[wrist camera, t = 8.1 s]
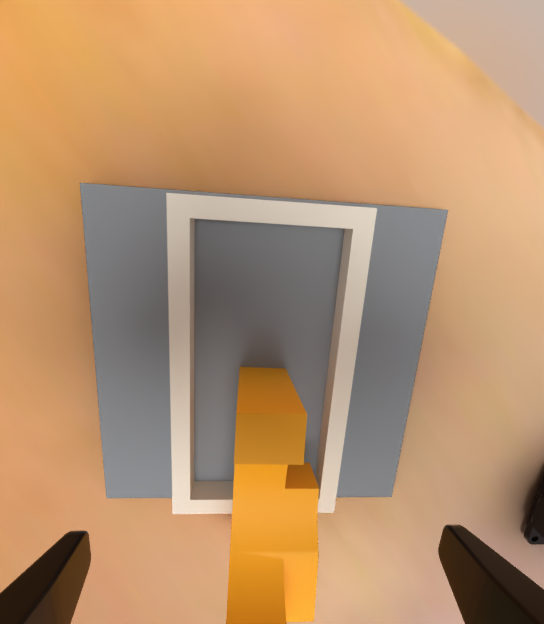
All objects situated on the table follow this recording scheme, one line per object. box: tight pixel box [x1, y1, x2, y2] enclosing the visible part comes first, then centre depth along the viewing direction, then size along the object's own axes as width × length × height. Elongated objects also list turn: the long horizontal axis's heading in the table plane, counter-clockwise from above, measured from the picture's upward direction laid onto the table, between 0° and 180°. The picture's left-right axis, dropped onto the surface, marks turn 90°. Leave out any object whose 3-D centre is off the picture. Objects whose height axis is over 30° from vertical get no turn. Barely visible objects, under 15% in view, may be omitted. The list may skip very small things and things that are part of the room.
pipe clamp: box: [226, 367, 319, 624], centre depth 16 cm, size 12×4×6 cm, turn 176°
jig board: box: [80, 183, 448, 514], centre depth 18 cm, size 18×18×2 cm
